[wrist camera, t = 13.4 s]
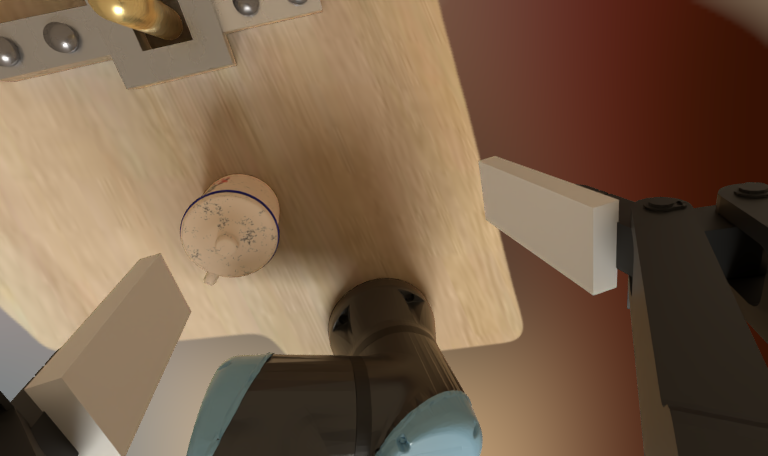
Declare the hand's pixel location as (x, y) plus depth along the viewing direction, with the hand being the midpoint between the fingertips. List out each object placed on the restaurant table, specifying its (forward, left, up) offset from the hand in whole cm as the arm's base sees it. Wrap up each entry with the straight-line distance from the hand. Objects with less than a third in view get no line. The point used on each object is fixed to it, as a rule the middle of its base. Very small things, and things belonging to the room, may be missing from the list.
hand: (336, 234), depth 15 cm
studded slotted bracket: (+14, +10, -31) cm, 35 cm away
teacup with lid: (-7, +11, -31) cm, 34 cm away
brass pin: (+14, +10, -31) cm, 35 cm away
